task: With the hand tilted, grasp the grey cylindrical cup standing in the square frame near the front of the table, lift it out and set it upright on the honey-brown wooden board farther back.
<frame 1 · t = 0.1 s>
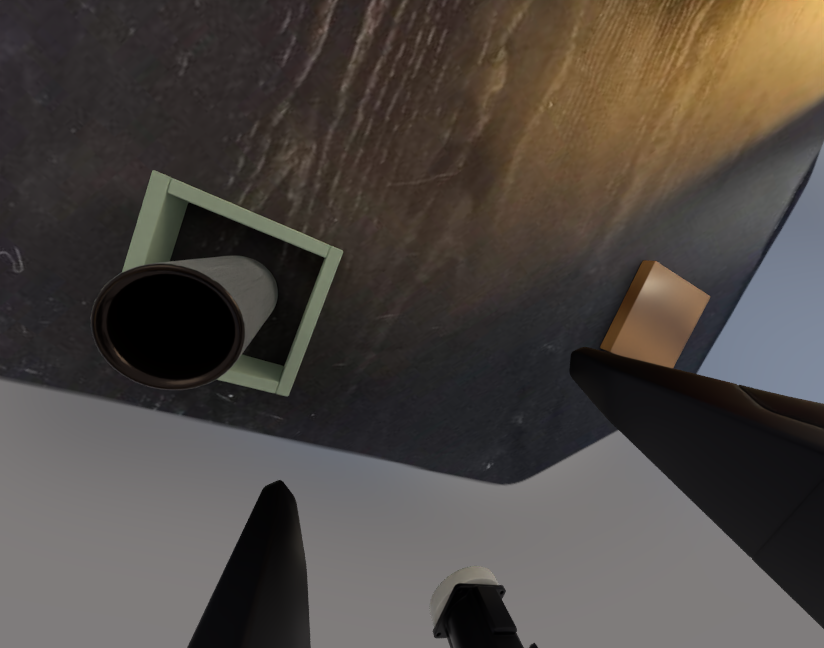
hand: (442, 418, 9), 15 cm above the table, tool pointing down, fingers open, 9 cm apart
board: (649, 320, 31), on the table
grey cylindrical cup: (241, 290, 20), resting in square frame
square frame: (241, 290, 20), on the table
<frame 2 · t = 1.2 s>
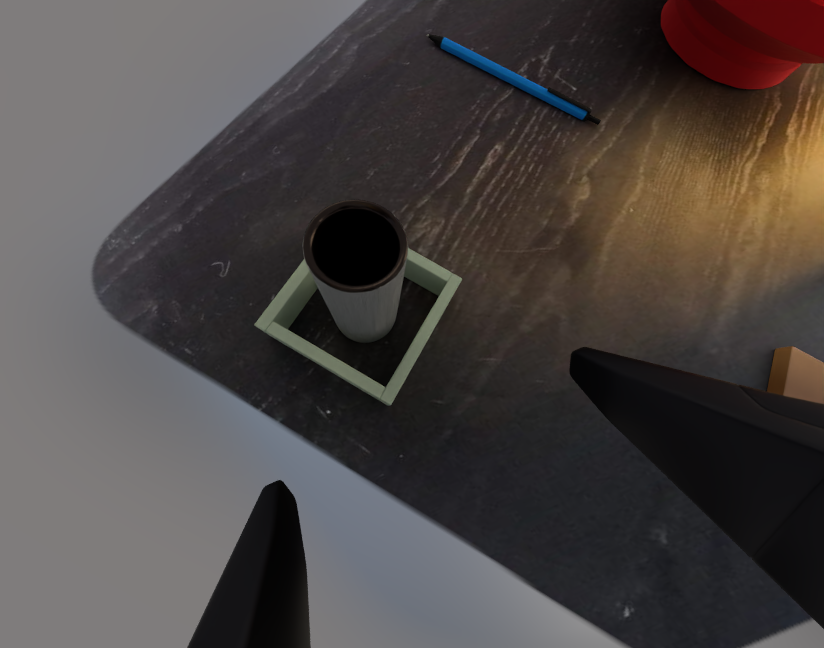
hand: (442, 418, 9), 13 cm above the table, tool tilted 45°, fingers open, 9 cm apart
bowl: (720, 40, 37), on the table
board: (817, 425, 25), on the table
pen: (509, 84, 31), on the table
grey cylindrical cup: (366, 314, 24), resting in square frame
square frame: (365, 313, 23), on the table
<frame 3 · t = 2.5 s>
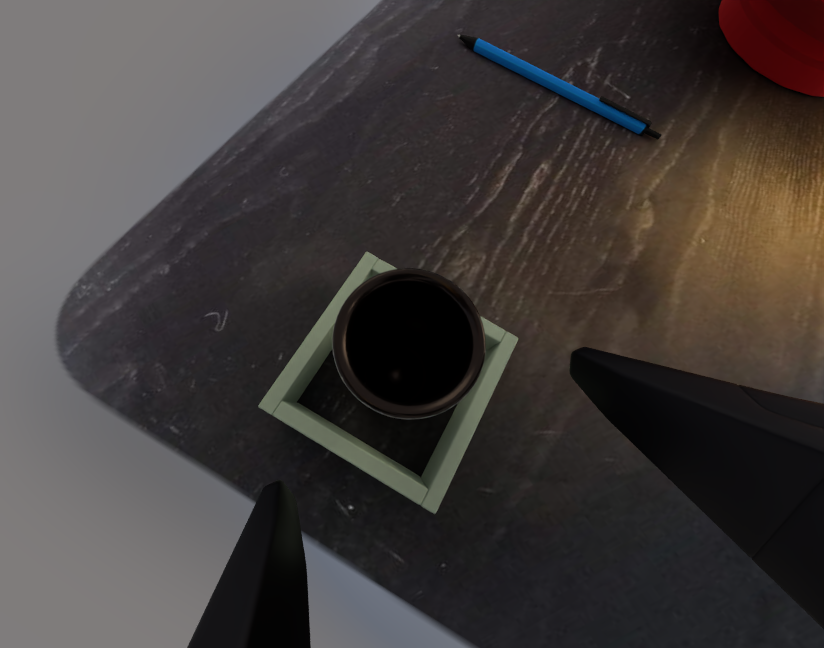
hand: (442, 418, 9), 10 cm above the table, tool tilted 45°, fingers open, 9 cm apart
bowl: (785, 41, 32), on the table
pen: (553, 93, 27), on the table
grey cylindrical cup: (394, 376, 19), resting in square frame
square frame: (394, 376, 19), on the table
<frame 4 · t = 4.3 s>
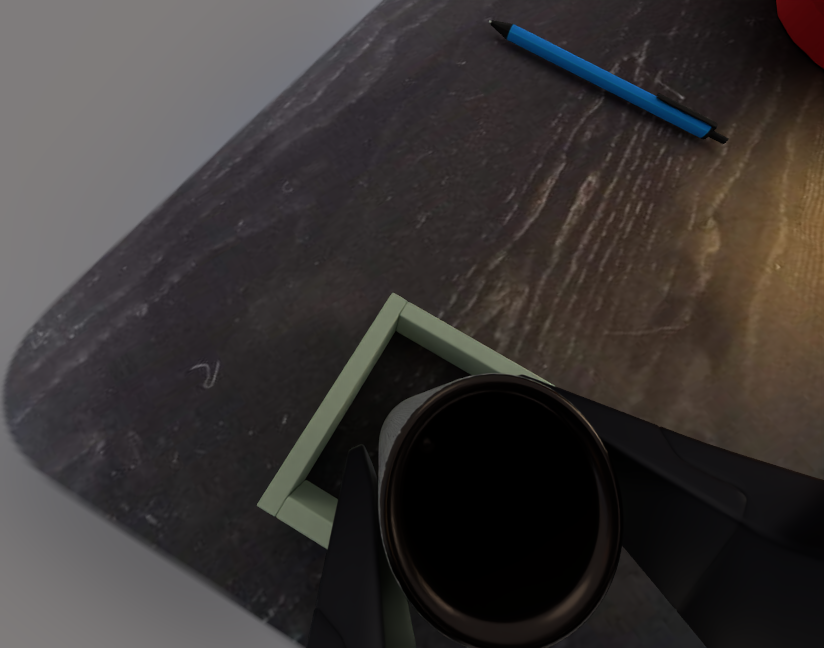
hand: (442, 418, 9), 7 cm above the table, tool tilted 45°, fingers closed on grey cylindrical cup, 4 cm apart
pen: (599, 89, 23), on the table
grey cylindrical cup: (424, 441, 16), resting in square frame, touching gripper
square frame: (425, 442, 15), on the table
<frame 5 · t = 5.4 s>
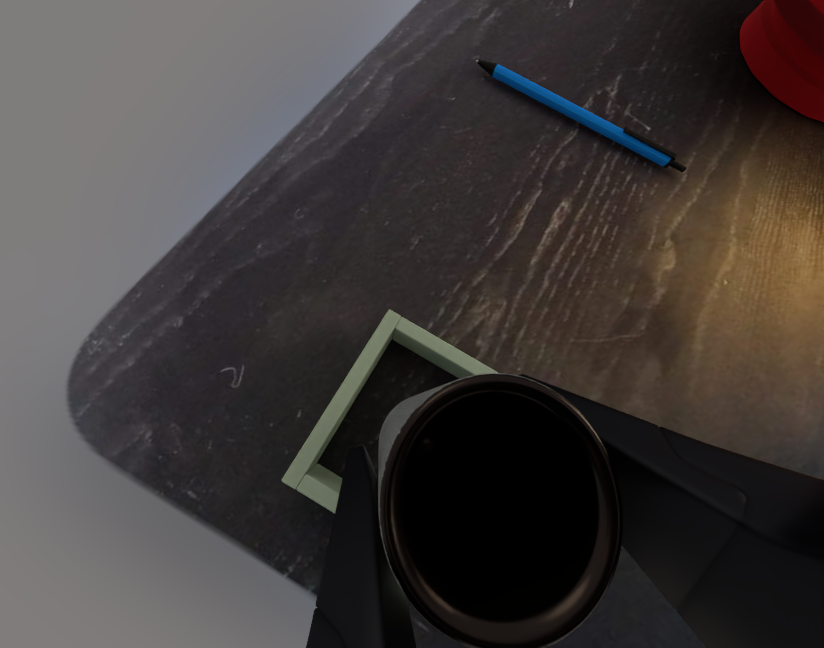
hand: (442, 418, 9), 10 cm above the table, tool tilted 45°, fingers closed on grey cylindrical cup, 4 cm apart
bowl: (807, 66, 32), on the table
pen: (574, 121, 26), on the table
grey cylindrical cup: (424, 441, 16), point 3 cm above the table, touching gripper
square frame: (416, 432, 18), on the table
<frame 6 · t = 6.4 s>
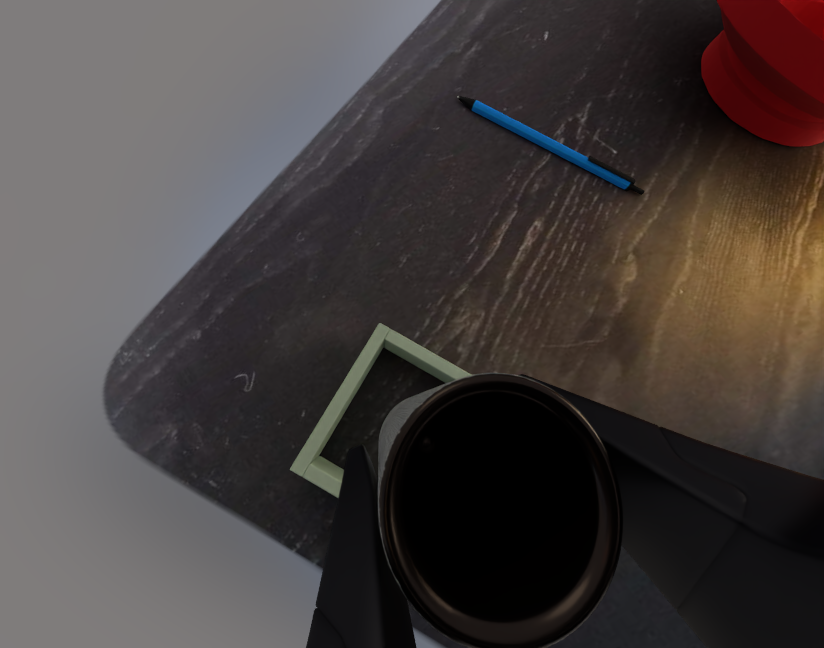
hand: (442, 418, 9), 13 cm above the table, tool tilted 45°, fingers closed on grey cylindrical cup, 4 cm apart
bowl: (763, 89, 34), on the table
pen: (545, 149, 29), on the table
grey cylindrical cup: (424, 441, 16), point 6 cm above the table, touching gripper
square frame: (404, 428, 21), on the table
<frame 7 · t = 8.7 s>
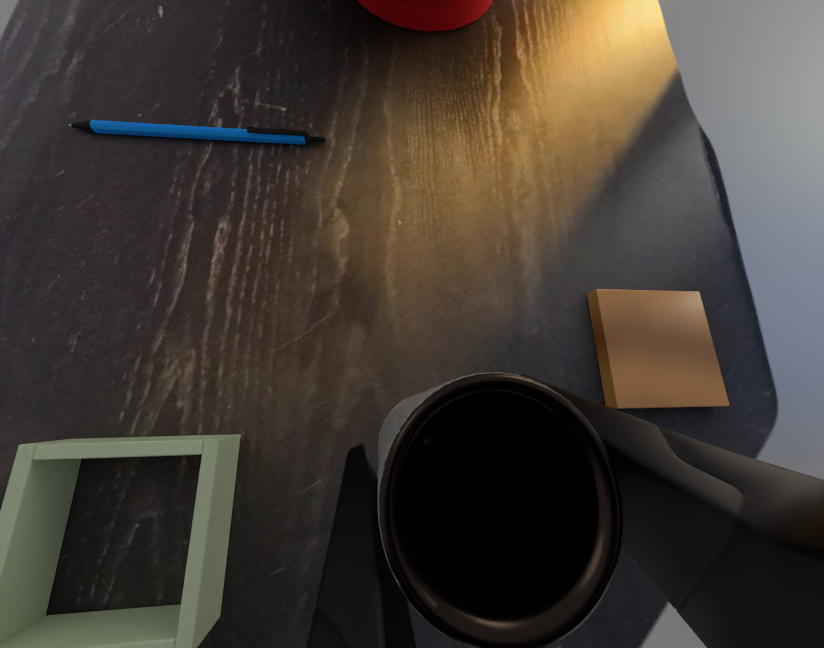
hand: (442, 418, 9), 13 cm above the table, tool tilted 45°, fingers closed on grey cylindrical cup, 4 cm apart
board: (648, 348, 25), on the table
pen: (207, 139, 26), on the table
grey cylindrical cup: (424, 441, 16), point 6 cm above the table, touching gripper
square frame: (143, 524, 18), on the table
when the fingers open (8 cm above the table, at t = 14.2 s): grey cylindrical cup stays where it is, resting on board.
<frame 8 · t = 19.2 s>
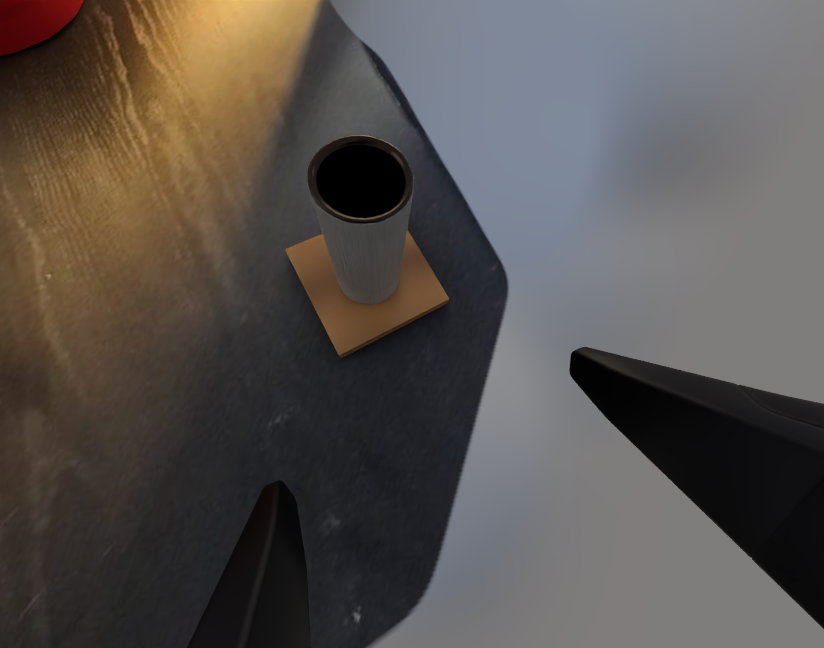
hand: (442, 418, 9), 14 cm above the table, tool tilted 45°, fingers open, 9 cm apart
board: (368, 280, 24), on the table
grey cylindrical cup: (368, 277, 23), point 1 cm above the table, touching board
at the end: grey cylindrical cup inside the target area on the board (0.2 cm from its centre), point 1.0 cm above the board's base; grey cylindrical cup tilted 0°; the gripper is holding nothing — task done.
